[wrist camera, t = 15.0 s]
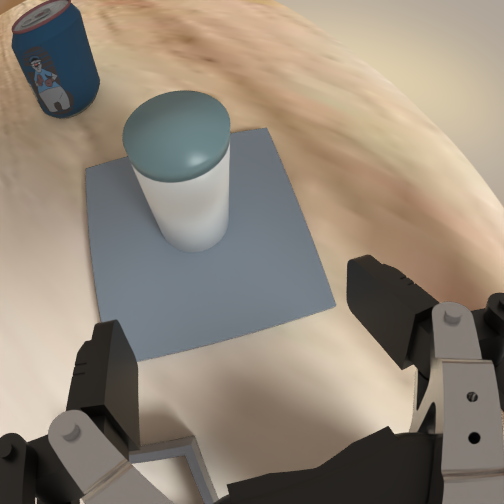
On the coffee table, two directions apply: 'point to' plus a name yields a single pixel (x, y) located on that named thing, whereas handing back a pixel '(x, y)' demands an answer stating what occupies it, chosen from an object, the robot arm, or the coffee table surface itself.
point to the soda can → (56, 58)
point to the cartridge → (183, 165)
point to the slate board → (204, 258)
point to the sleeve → (176, 449)
